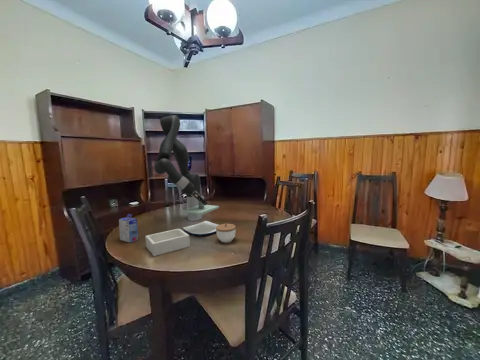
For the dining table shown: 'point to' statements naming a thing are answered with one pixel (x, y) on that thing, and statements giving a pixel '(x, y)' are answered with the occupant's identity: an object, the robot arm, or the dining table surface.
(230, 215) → the dining table surface
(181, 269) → the dining table surface
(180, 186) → the robot arm
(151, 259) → the dining table surface
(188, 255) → the dining table surface
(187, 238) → the open box
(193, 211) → the lid
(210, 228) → the plate
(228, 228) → the lidded jar
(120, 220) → the ink cartridge box
